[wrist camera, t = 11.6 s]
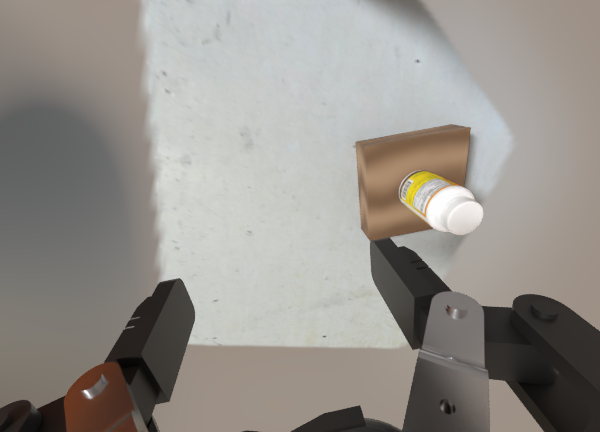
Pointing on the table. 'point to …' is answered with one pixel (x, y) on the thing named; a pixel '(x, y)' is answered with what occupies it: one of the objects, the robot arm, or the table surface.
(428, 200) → the supplement bottle
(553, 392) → the robot arm
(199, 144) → the table surface
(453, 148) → the walnut plinth
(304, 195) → the table surface
